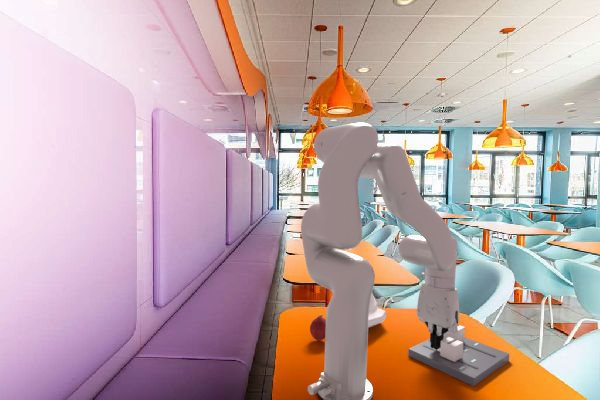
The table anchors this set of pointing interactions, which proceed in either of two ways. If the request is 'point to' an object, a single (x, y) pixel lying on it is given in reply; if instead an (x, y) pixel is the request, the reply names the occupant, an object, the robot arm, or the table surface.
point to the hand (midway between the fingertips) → (436, 347)
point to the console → (462, 360)
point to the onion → (318, 328)
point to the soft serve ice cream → (375, 313)
